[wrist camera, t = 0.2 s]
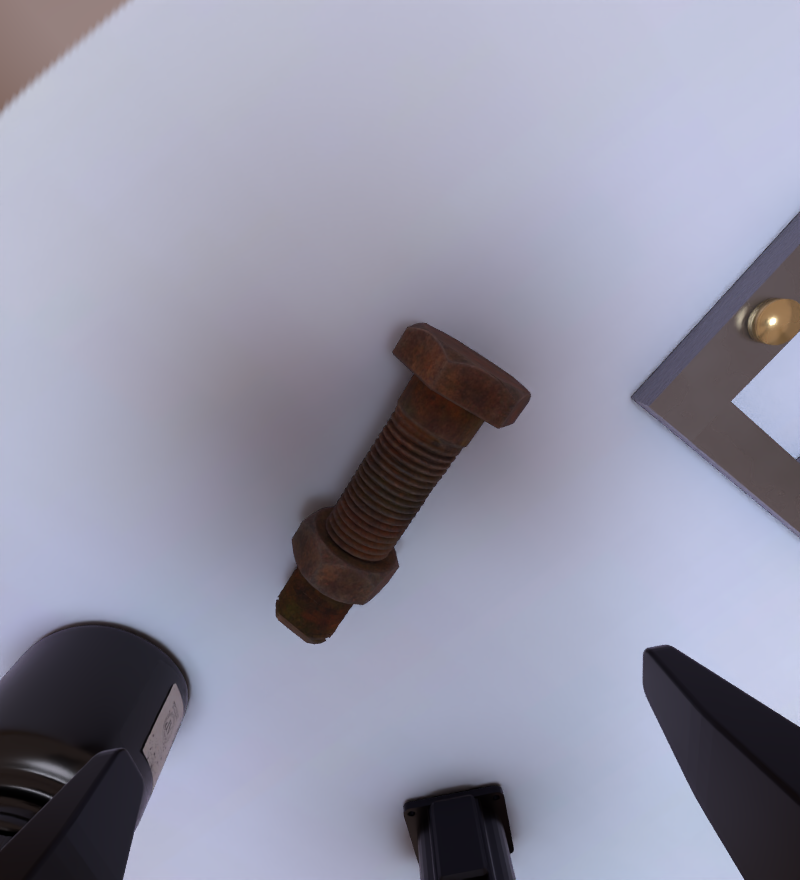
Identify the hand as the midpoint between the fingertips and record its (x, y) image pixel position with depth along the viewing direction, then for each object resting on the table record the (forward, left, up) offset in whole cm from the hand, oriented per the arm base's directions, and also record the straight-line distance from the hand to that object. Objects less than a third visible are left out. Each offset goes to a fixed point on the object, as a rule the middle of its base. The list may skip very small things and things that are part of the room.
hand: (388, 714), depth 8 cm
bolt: (-2, +1, -15) cm, 15 cm away
